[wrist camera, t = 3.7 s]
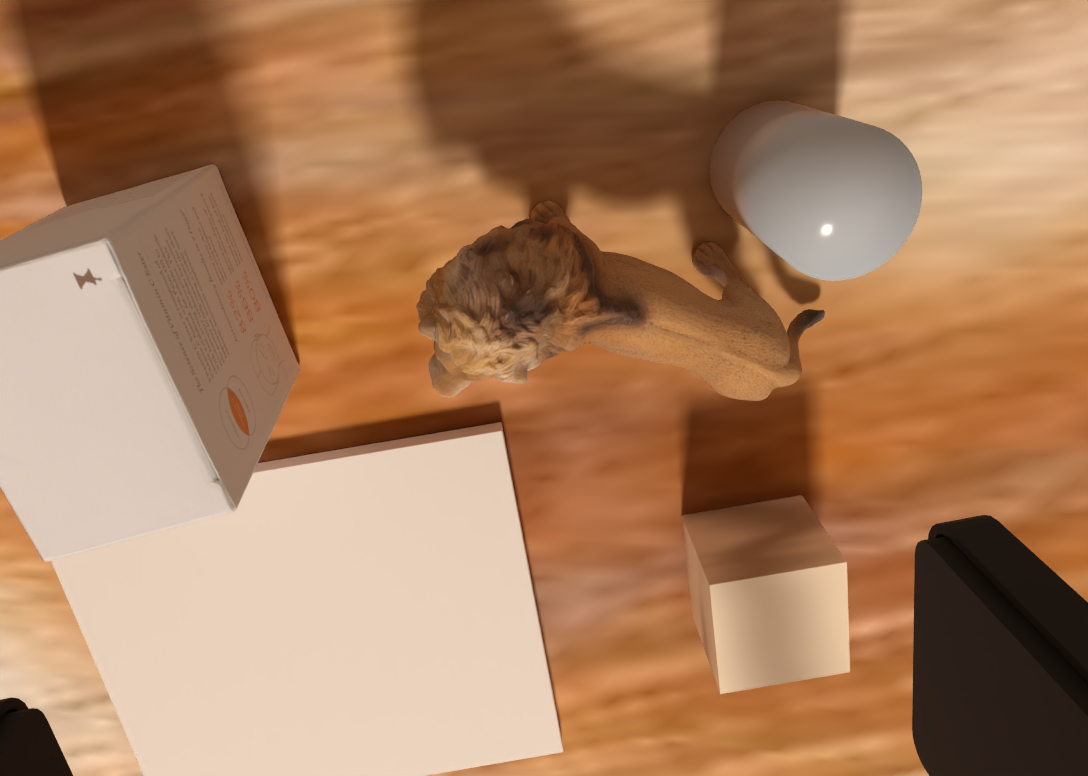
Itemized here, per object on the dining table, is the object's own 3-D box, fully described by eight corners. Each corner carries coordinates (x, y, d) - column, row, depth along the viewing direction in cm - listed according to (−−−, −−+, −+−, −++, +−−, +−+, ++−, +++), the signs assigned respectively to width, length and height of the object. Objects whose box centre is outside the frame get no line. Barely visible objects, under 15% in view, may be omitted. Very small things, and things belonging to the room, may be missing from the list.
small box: (63, 204, 31) (-124, 293, 21) (220, 159, 31) (103, 228, 21) (162, 411, 34) (37, 571, 24) (305, 371, 34) (237, 517, 24)
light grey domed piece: (831, 90, 31) (922, 111, 25) (834, 216, 33) (921, 266, 27) (704, 111, 31) (762, 138, 25) (714, 236, 33) (771, 292, 27)
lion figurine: (419, 322, 34) (400, 426, 25) (435, 177, 32) (420, 237, 23) (801, 371, 35) (900, 482, 27) (838, 236, 33) (958, 311, 25)
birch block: (801, 494, 37) (846, 562, 33) (806, 594, 39) (850, 672, 35) (680, 514, 37) (709, 585, 33) (692, 613, 39) (720, 694, 35)
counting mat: (501, 422, 35) (501, 431, 34) (561, 738, 41) (563, 751, 41) (38, 500, 35) (29, 510, 34) (168, 805, 41) (163, 820, 41)
